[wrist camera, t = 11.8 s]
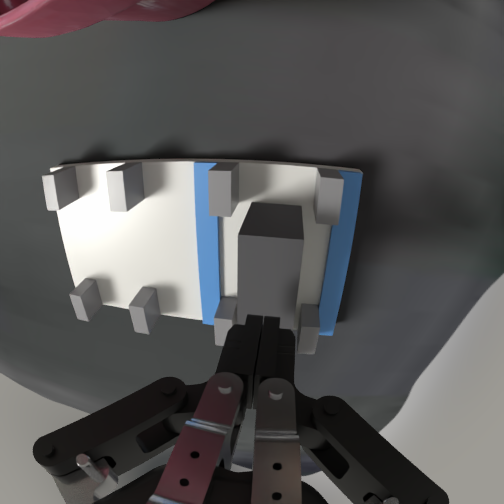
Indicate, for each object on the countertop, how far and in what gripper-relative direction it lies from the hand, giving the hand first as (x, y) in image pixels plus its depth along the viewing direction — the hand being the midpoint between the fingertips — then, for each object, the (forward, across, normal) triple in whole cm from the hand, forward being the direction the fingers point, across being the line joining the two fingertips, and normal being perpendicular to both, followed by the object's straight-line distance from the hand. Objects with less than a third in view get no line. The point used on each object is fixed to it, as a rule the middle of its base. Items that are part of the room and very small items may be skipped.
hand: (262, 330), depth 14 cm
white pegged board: (+8, +6, 0) cm, 10 cm away
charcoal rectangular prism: (+7, 0, +1) cm, 7 cm away
